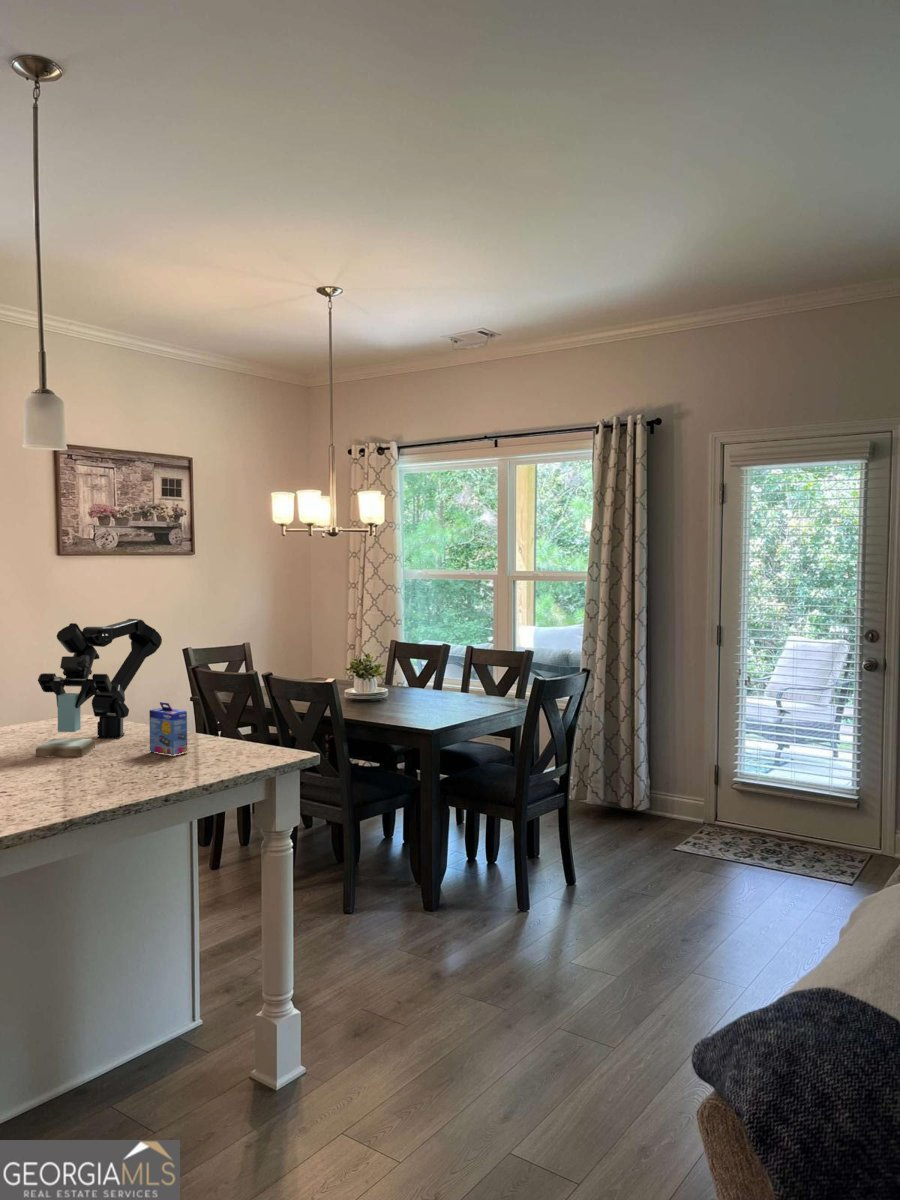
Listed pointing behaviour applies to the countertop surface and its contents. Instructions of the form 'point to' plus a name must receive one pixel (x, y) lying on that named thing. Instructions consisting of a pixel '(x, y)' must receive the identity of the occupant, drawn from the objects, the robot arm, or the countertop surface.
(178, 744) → the ink cartridge box
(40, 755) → the stand
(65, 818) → the countertop surface
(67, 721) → the block
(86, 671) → the robot arm
